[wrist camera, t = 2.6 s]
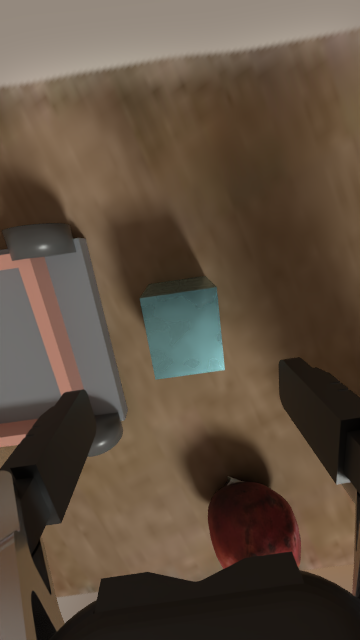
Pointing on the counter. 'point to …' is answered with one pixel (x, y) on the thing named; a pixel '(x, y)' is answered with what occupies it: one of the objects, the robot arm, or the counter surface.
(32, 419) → the chassis
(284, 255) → the counter surface
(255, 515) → the fruit
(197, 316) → the teal glassy cube
